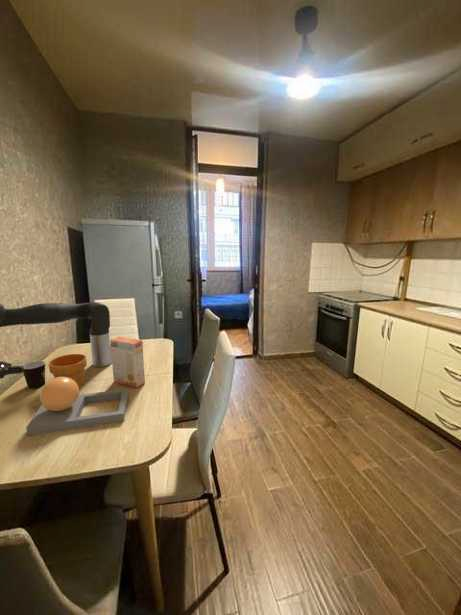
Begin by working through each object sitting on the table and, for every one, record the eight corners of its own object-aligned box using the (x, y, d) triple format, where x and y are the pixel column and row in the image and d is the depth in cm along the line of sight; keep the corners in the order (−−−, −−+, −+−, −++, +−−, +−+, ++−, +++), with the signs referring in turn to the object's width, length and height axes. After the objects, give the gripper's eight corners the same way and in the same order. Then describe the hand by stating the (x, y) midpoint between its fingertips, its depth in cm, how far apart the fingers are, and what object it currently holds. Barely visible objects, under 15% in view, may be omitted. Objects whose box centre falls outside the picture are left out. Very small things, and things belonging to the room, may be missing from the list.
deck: (27, 435, 90) (26, 427, 89) (47, 405, 107) (46, 398, 106) (124, 420, 98) (123, 413, 97) (128, 395, 115) (127, 388, 114)
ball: (72, 396, 108) (69, 368, 105) (86, 407, 101) (82, 377, 98) (37, 409, 99) (32, 379, 96) (49, 423, 91) (44, 390, 89)
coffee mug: (36, 391, 117) (32, 369, 115) (19, 389, 119) (16, 367, 117) (58, 378, 128) (55, 359, 126) (42, 377, 130) (39, 357, 128)
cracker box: (145, 382, 125) (143, 340, 121) (136, 388, 120) (133, 344, 116) (123, 376, 131) (120, 335, 127) (113, 382, 126) (109, 339, 121)
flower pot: (50, 385, 122) (46, 358, 119) (84, 376, 131) (82, 351, 128) (55, 399, 111) (50, 369, 109) (92, 388, 120) (89, 360, 117)
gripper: (-56, 372, 82) (12, 367, 86) (-29, 356, 94) (29, 352, 99) (-51, 395, 83) (15, 388, 88) (-25, 376, 96) (32, 371, 100)
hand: (22, 369), depth 93 cm, fingers closed
